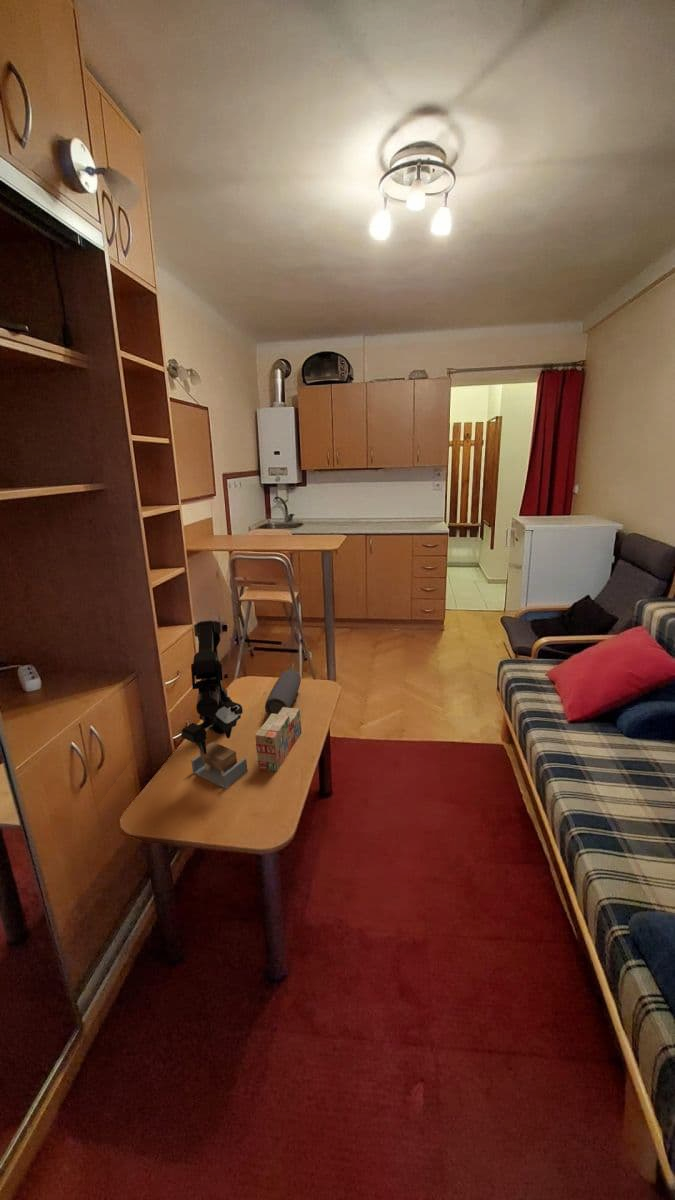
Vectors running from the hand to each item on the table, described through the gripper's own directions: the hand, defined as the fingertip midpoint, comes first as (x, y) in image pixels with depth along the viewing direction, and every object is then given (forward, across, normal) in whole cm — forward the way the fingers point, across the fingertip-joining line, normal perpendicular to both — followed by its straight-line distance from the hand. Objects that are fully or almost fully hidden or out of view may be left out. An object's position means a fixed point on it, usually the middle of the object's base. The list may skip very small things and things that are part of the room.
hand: (216, 745), depth 138 cm
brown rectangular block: (+6, 0, 0) cm, 6 cm away
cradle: (+10, 0, 0) cm, 10 cm away
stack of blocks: (+10, +18, -9) cm, 23 cm away
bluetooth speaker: (+10, +41, +8) cm, 43 cm away
